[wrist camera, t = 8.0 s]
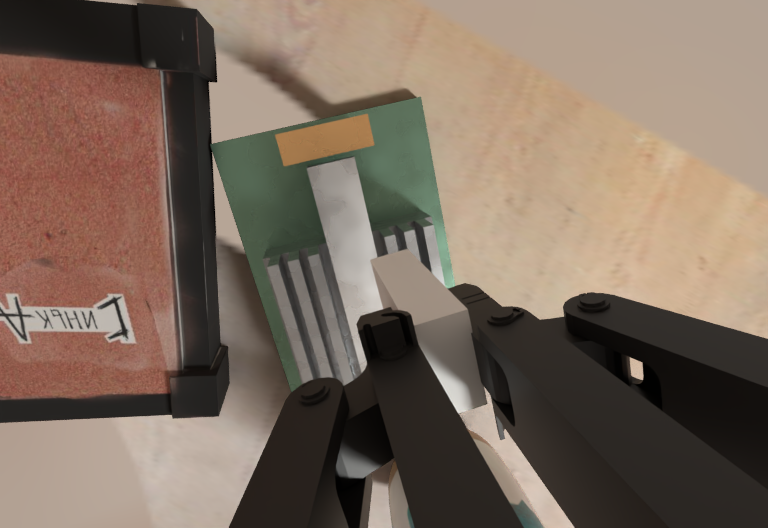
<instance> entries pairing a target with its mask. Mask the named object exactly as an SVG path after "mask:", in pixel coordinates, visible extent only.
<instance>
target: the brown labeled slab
mask: <svg viewBox="0 0 768 528" xmlns="http://www.w3.org/2000/svg"><path fill="white" fill-rule="evenodd" d="M209 82H217V64H216V49H215V48H214V29H213V28H212V26H211V25H210V24H209V23H208V22H207V21H206V19H205V18H204V17H203V16H202V15H201V14H200V12H199V11H198V10H197V9H191V8H181V7H171V6H160V5H150V4H140V3H137V5H128V4H118V3H108V2H96V1H88V0H0V423H7V422H27V421H49V420H69V419H90V418H112V417H133V416H154V415H172V417H173V418H194V417H214V416H219V414H220V411H221V408H222V404H223V401H224V398H225V395H226V392H227V389H228V386H229V383H230V382H229V360H228V347H221V345H220V325H219V304H218V284H217V264H216V244H215V236H216V218H215V199H214V198H215V197H214V178H213V157H212V149H211V146H210V144H212V137H211V116H210V96H209Z"/></svg>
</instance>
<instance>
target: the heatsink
mask: <svg viewBox="0 0 768 528" xmlns="http://www.w3.org/2000/svg"><path fill="white" fill-rule="evenodd" d="M210 146H211V149H212V152H213V155H214V158H215V161H216V164H217V167H218V170H219V173H220V176H221V179H222V182H223V185H224V188H225V192H226V195H227V198H228V201H229V204H230V207H231V210H232V213H233V216H234V219H235V222H236V225H237V228H238V231H239V234H240V237H241V240H242V243H243V246H244V249H245V253H246V256H247V259H248V262H249V265H250V268H251V271H252V274H253V277H254V280H255V283H256V286H257V289H258V292H259V295H260V298H261V301H262V304H263V307H264V310H265V314H266V317H267V320H268V323H269V326H270V329H271V332H272V335H273V338H274V341H275V344H276V347H277V350H278V353H279V356H280V359H281V362H282V365H283V368H284V371H285V375H286V378H287V381H288V384H289V387H290V390H291V392H293V391H294V390H295V389H296V388H298V387H299V386H300V385H302V384H303V383H307V381H310V380H315V379H318V378H326V377H331V378H336V379H338V380H339V381H340V382H342V384H343V386H344V385H346V384H348V383H350V382H351V381H353V380H354V379H356V378H357V377H358V376H359V375H361V374H362V372H361V369H360V365H359V361H358V357H357V354H356V350H355V346H354V343H353V339H352V335H351V331H350V328H349V324H348V320H347V316H346V313H345V309H344V305H343V302H342V298H341V294H340V290H339V287H338V283H337V279H336V276H335V272H334V268H333V264H332V261H331V257H330V253H329V249H328V246H327V242H326V238H325V235H324V231H323V227H322V223H321V220H320V216H319V212H318V209H317V205H316V201H315V197H314V194H313V190H312V186H311V182H310V179H309V175H308V171H307V166H312V165H316V164H320V163H324V162H329V161H333V160H337V159H342V158H346V157H350V156H354V157H355V162H356V166H357V170H358V175H359V179H360V183H361V188H362V192H363V196H364V201H365V205H366V210H367V214H368V218H369V223H370V227H371V231H372V236H373V240H374V244H375V249H376V253H377V257H381V256H384V255H388V254H391V253H395V252H398V251H402V250H405V249H408V250H409V251H410V252H411V253H412V254H413V255H414V256H415V257H416V258H417V259H418V260H419V261H420V262H421V263H422V264H423V265H424V266H425V267H426V268H427V269H428V270H429V271H430V272H431V273H432V274H433V275H434V276H435V277H436V278H437V279H438V280H439V281H440V282H441V283H442V284H443V285H444V286H445V287H446V288H451V287H454V286H455V282H454V277H453V271H452V266H451V260H450V255H449V249H448V244H447V238H446V233H445V227H444V222H443V216H442V211H441V205H440V200H439V194H438V189H437V183H436V178H435V172H434V167H433V161H432V156H431V150H430V144H429V139H428V133H427V128H426V122H425V117H424V111H423V106H422V100H421V97H418V98H413V99H409V100H404V101H400V102H395V103H391V104H387V105H382V106H378V107H373V108H369V109H364V110H360V111H355V112H351V113H347V114H342V115H338V116H333V117H329V118H324V119H320V120H316V121H312V122H307V123H302V124H298V125H293V126H290V127H285V128H281V129H276V130H272V131H267V132H263V133H258V134H254V135H250V136H245V137H240V138H236V139H231V140H227V141H223V142H218V143H214V144H210Z"/></svg>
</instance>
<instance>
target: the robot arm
mask: <svg viewBox="0 0 768 528" xmlns="http://www.w3.org/2000/svg"><path fill="white" fill-rule="evenodd" d="M370 261H371V265H372V269H373V273H374V276H375V280H376V284H377V287H378V291H379V295H380V299H381V302H382V306H383V309H382V310H378V311H375V312H372V313H368V314H365V315H362V316H360V318H359V320H358V322H357V324H356V325H357V329H358V334H359V337H360V340H361V344H362V347H363V351H364V354H365V358H366V361H367V365H366V368H365V370H364V371H363V372H362V374H361V375H359V376H358V377H357V378H356V379H354V380H353V381H351V382H350V383H348V384H346V385H344V386H343V384H342V382H340V381H339V380H338V379H336V378H331V377H326V378H318V379H315V380H310V381H307V383H303V384H302V385H300V386H299V387H298V388H296V389H295V390H294V391H293V392H291V394H290V395H289V396H288V398H287V399H286V401H285V404H284V406H283V408H282V410H281V412H280V415H279V417H278V419H277V421H276V424H275V426H274V428H273V430H272V432H271V435H270V437H269V439H268V441H267V444H266V446H265V448H264V450H263V452H262V455H261V457H260V459H259V461H258V464H257V466H256V468H255V470H254V473H253V475H252V477H251V479H250V481H249V484H248V486H247V488H246V490H245V493H244V495H243V497H242V499H241V501H240V504H239V506H238V508H237V510H236V513H235V515H234V517H233V519H232V521H231V524H230V526H229V528H368V520H369V511H370V502H371V493H372V476H371V473H372V472H373V471H375V470H376V469H378V468H379V467H381V466H383V465H384V464H386V463H387V462H389V461H390V460H392V459H393V458H395V462H396V465H397V469H398V472H399V476H400V479H401V483H402V486H403V490H404V493H405V496H406V500H407V503H408V507H409V510H410V514H411V517H412V521H413V524H414V528H524V527H523V525H522V523H521V522H520V520H519V518H518V516H517V515H516V513H515V511H514V509H513V508H512V506H511V504H510V502H509V501H508V499H507V497H506V496H505V494H504V492H503V490H502V489H501V487H500V485H499V483H498V482H497V480H496V478H495V476H494V475H493V473H492V471H491V470H490V468H489V466H488V464H487V463H486V461H485V459H484V457H483V456H482V454H481V452H480V450H479V449H478V447H477V445H476V443H475V442H474V440H473V438H472V437H471V435H470V433H469V431H468V430H467V428H466V426H465V424H464V423H463V421H462V419H461V417H460V416H459V413H462V412H465V411H468V410H471V409H474V408H477V407H480V406H483V405H486V404H487V400H486V395H485V390H484V387H485V388H486V389H487V391H488V392H489V393H490V395H491V399H492V404H493V409H494V414H495V419H496V424H497V429H498V434H499V437H500V440H503V439H505V437H504V432H503V431H504V429H506V430H507V432H508V433H509V435H510V436H511V437H512V439H513V440H514V442H515V443H516V445H517V446H518V447H519V449H520V450H521V452H522V453H523V455H524V456H525V457H526V459H527V460H528V462H529V463H530V465H531V466H532V467H533V469H534V470H535V472H536V473H537V474H538V476H539V477H540V479H541V480H542V482H543V483H544V484H545V486H546V487H547V489H548V490H549V492H550V493H551V494H552V496H553V497H554V499H555V500H556V502H557V503H558V504H559V506H560V507H561V509H562V510H563V511H564V513H565V514H566V516H567V517H568V519H569V520H570V521H571V523H572V524H573V526H574V527H575V528H768V339H766V338H762V337H759V336H755V335H752V334H748V333H745V332H741V331H738V330H734V329H731V328H727V327H724V326H720V325H717V324H713V323H710V322H706V321H703V320H699V319H696V318H692V317H689V316H685V315H682V314H678V313H674V312H671V311H667V310H664V309H660V308H657V307H653V306H650V305H646V304H643V303H639V302H636V301H632V300H629V299H625V298H622V297H618V296H615V295H610V294H604V293H594V292H591V293H587V294H586V293H584V294H580V295H579V296H576V297H573V298H571V299H569V300H568V301H566V302H565V304H564V306H563V310H564V317H559V318H552V319H544V320H539V319H538V318H536V317H535V316H534V315H532V314H531V313H530V312H528V311H527V310H525V309H522V308H519V307H512V306H511V307H502V306H501V305H500V304H498V303H497V302H496V301H495V300H493V299H492V298H490V296H488V295H487V294H486V293H484V291H482V290H481V289H480V288H479V287H477V286H474V285H470V284H466V283H464V284H461V285H457V286H454V287H451V288H446V287H445V286H444V285H443V284H442V283H441V282H440V281H439V280H438V279H437V278H436V277H435V276H434V275H433V274H432V273H431V272H430V271H429V270H428V269H427V268H426V267H425V266H424V265H423V264H422V263H421V262H420V261H419V260H418V259H417V258H416V257H415V256H414V255H413V254H412V253H411V252H410V251H409V250H408V249H405V250H402V251H398V252H395V253H391V254H388V255H384V256H381V257H378V258H374V259H371V260H370ZM629 357H631V358H633V359H636V360H638V361H641V362H643V374H644V378H643V380H639V379H637V378H634V377H632V376H631V369H630V358H629Z"/></svg>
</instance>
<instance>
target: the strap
mask: <svg viewBox="0 0 768 528" xmlns="http://www.w3.org/2000/svg"><path fill="white" fill-rule="evenodd" d="M307 171H308V175H309V179H310V182H311V186H312V190H313V194H314V197H315V201H316V205H317V209H318V212H319V216H320V220H321V223H322V227H323V231H324V235H325V238H326V242H327V246H328V249H329V253H330V257H331V261H332V264H333V268H334V272H335V276H336V279H337V283H338V287H339V290H340V294H341V298H342V302H343V305H344V309H345V313H346V316H347V320H348V324H349V328H350V331H351V335H352V339H353V343H354V346H355V350H356V354H357V357H358V361H359V365H360V369H361V372H363V371H364V370H365V368H366V365H367V361H366V358H365V354H364V351H363V347H362V344H361V340H360V337H359V334H358V329H357V325H356V324H357V322H358V320H359V318H360V316H362V315H365V314H368V313H372V312H375V311H378V310H382V309H383V306H382V302H381V299H380V295H379V291H378V287H377V284H376V280H375V276H374V273H373V269H372V265H371V261H370V260H371V259H374V258H378V257H377V253H376V249H375V244H374V240H373V236H372V231H371V227H370V223H369V218H368V214H367V210H366V205H365V201H364V196H363V192H362V188H361V183H360V179H359V175H358V170H357V166H356V162H355V157H354V156H350V157H346V158H342V159H337V160H333V161H329V162H324V163H320V164H316V165H312V166H307Z"/></svg>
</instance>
